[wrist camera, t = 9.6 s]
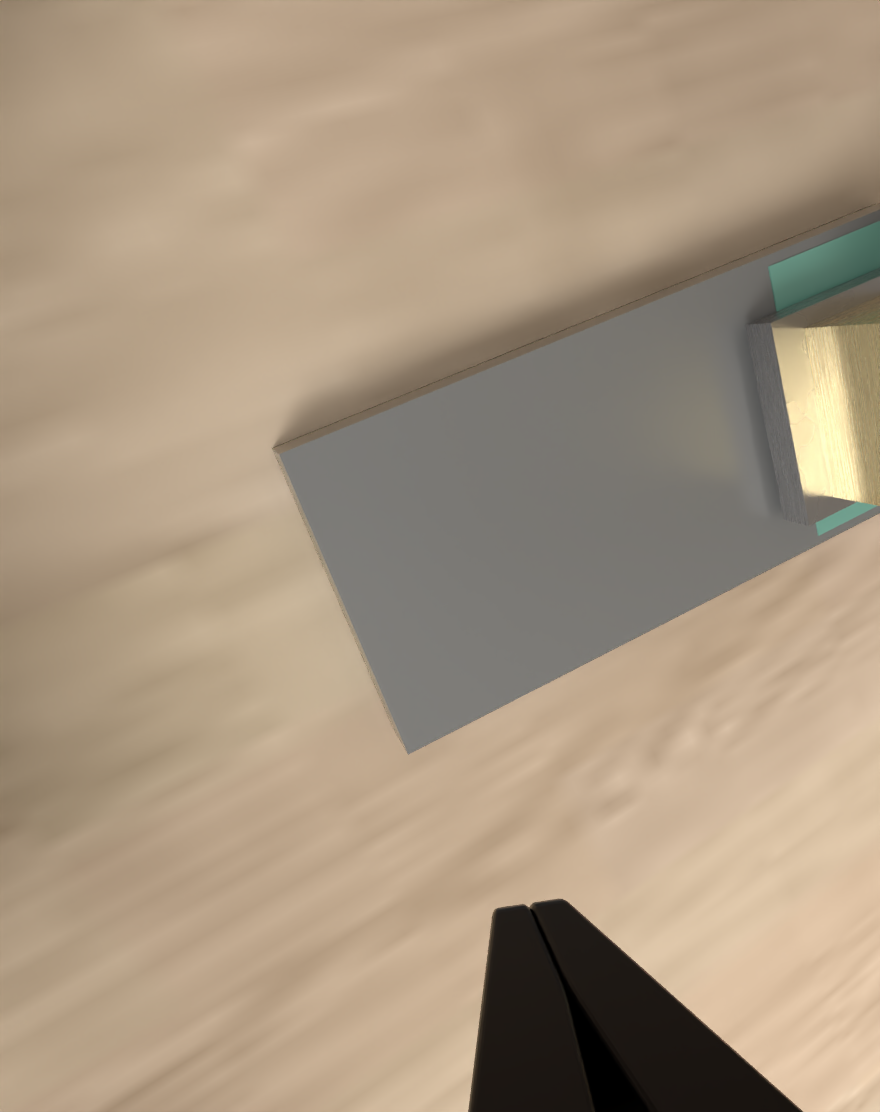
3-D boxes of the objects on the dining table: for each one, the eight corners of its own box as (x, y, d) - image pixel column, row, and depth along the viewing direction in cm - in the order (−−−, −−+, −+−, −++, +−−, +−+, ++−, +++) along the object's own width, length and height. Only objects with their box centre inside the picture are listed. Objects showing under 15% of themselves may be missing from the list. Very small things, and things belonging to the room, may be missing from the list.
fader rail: (394, 730, 22) (430, 791, 19) (272, 448, 20) (289, 463, 16) (910, 471, 27) (1011, 485, 23) (874, 204, 24) (984, 178, 20)
